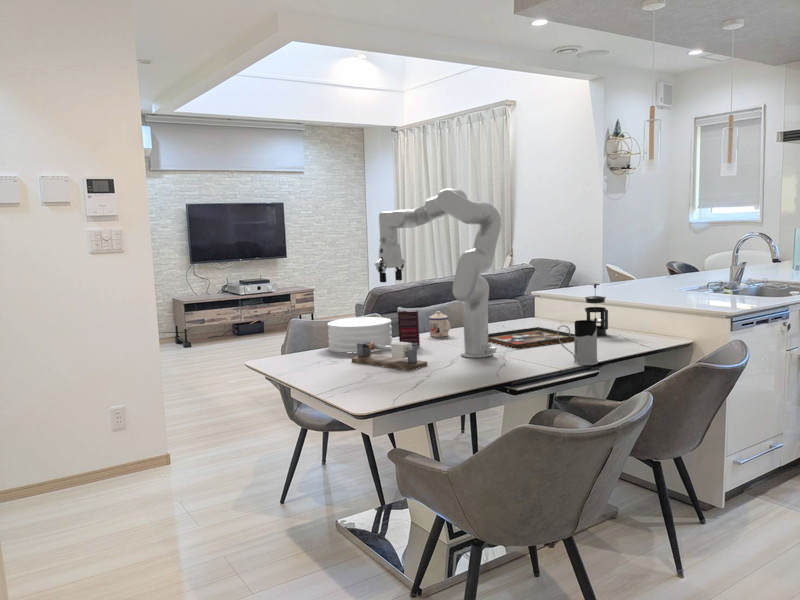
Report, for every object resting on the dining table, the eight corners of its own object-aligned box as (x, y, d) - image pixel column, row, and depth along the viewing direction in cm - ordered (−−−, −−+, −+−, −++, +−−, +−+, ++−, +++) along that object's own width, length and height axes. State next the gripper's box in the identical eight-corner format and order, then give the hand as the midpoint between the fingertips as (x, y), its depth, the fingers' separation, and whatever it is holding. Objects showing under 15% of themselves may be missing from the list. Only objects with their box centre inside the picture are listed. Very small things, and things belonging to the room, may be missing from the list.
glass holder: (599, 365, 224) (599, 323, 222) (558, 365, 226) (558, 323, 225) (596, 359, 232) (596, 319, 231) (557, 360, 235) (556, 320, 233)
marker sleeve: (412, 356, 236) (411, 342, 236) (403, 358, 233) (403, 345, 232) (400, 354, 240) (399, 341, 240) (391, 356, 236) (391, 343, 236)
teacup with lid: (425, 336, 300) (424, 311, 299) (439, 333, 306) (438, 309, 305) (443, 338, 291) (442, 313, 290) (457, 335, 297) (456, 311, 295)
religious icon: (532, 330, 305) (531, 324, 305) (588, 340, 275) (588, 333, 275) (469, 341, 285) (469, 335, 285) (523, 353, 256) (523, 346, 255)
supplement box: (420, 345, 276) (418, 309, 274) (419, 348, 271) (417, 311, 269) (400, 346, 276) (398, 310, 275) (399, 348, 272) (397, 311, 270)
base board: (427, 365, 235) (427, 361, 235) (410, 370, 228) (409, 366, 228) (369, 357, 255) (369, 353, 255) (351, 361, 248) (351, 358, 247)
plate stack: (319, 346, 285) (317, 321, 284) (374, 339, 298) (373, 315, 297) (345, 356, 260) (343, 328, 259) (403, 347, 274) (402, 321, 273)
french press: (579, 334, 287) (578, 283, 284) (593, 331, 292) (593, 282, 289) (599, 337, 277) (598, 285, 274) (614, 335, 282) (613, 283, 279)
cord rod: (418, 362, 234) (417, 346, 234) (410, 364, 231) (410, 348, 230) (365, 355, 252) (364, 340, 252) (357, 357, 249) (356, 342, 248)
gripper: (381, 241, 258) (383, 283, 260) (409, 239, 271) (411, 279, 273) (368, 242, 263) (370, 282, 265) (396, 240, 276) (398, 279, 278)
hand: (391, 281), depth 269 cm, fingers open, 9 cm apart
